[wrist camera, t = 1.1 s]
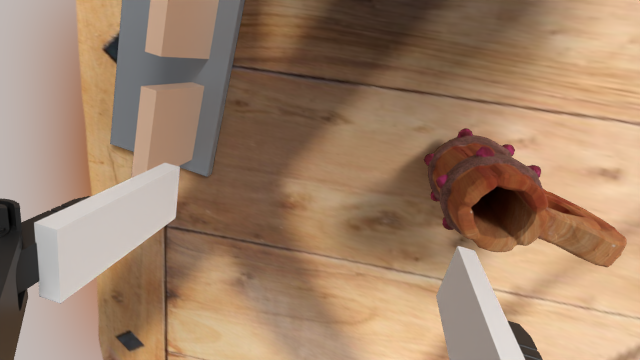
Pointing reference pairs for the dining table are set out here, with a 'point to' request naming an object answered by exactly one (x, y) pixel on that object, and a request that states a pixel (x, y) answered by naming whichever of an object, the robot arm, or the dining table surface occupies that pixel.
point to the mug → (511, 202)
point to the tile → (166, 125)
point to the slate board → (174, 77)
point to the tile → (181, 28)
